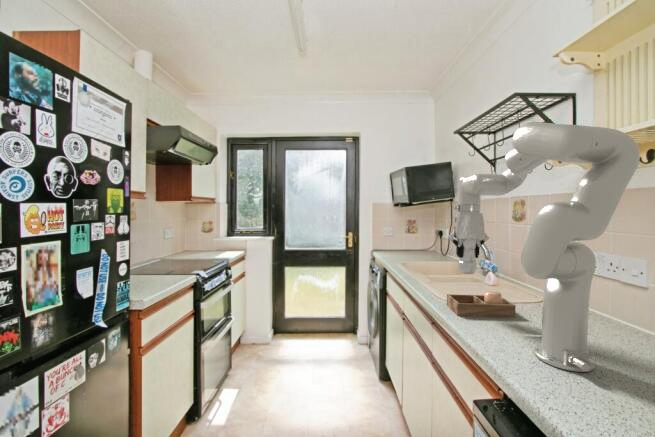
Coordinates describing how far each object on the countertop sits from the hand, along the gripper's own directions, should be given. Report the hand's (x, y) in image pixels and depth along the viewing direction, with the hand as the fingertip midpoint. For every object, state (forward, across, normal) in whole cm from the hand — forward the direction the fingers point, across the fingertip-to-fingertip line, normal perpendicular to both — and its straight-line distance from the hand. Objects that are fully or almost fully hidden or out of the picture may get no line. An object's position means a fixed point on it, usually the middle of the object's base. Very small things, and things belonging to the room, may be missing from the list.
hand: (467, 256), depth 115 cm
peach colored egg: (+21, +10, 0) cm, 23 cm away
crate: (+21, +5, 0) cm, 22 cm away
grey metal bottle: (+7, 0, 0) cm, 7 cm away
